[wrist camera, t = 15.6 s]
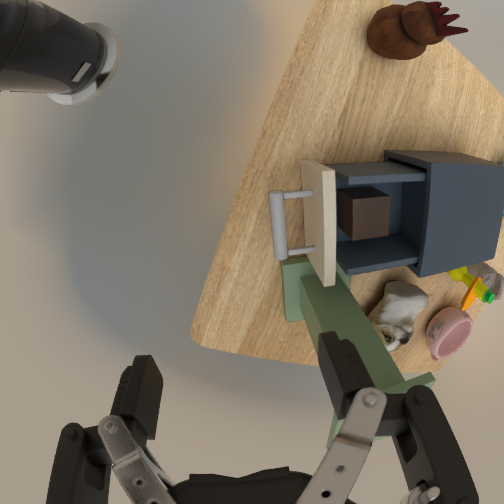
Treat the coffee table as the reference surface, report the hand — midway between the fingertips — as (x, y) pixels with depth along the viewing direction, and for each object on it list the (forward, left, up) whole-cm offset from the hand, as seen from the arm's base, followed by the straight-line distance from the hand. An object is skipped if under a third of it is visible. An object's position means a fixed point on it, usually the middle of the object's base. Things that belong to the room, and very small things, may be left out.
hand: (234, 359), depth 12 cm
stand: (+10, -11, -22) cm, 27 cm away
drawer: (+13, 0, -21) cm, 25 cm away
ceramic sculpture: (+21, -18, -22) cm, 35 cm away
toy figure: (+33, -12, -22) cm, 41 cm away
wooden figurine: (+21, +21, -22) cm, 37 cm away
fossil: (+40, -14, -22) cm, 48 cm away
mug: (+36, -26, -22) cm, 50 cm away
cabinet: (+27, 0, -22) cm, 35 cm away
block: (+14, 0, -20) cm, 25 cm away
